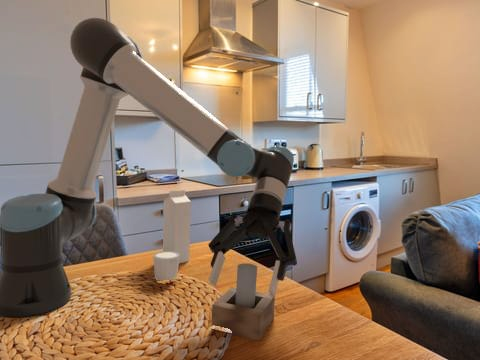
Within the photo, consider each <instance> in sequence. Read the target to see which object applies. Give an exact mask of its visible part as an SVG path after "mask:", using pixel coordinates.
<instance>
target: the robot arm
mask: <svg viewBox="0 0 480 360" xmlns="http://www.w3.org/2000/svg"><path fill="white" fill-rule="evenodd" d="M69 46H70V49H71V52H72V55H73V57H74V59H75V61H76V62H77V63H79V65H80V66H81V67H82V70H81V73H80V80H81V82H82V84H83V86H84V88H83V90H82V94H81V97H80V100H79V105H78V107H77V111H76V114H75V118H74V121H73V124H72V128H71V131H70V134H69V138H68V141H67V145H66V147H65V151H64V154H63V157H62V160H61V165H60V167H59V169H58V170H59V171H58V175H57V177H56V178H55V179H54V180H51V181H49V182H48V183H47V187H46V189H45V193H30V194H27V195H18V196H15V197H13V198H9V199H7V200H6V201H5V202H4V203H3V204H1V207H0V260H1V262H0V263H1V264H0V265H1V266H0V267H1V270H0V271H1V272H0V316H2V317H7V318H21V317H22V318H24V317H33V316H38V315H41V314H45V313H48V312H51V311H55V310H56V309H59V308H61V307H62V306H65V304H67V303H68V302H69V301H70V300H71V298H72V286H71V283H70V282H69V278H68V276H67V273H66V270H65V268H64V265H63V244H65V243H66V242H69V241H71V240H73V239H75V238H77V237H80V236H81V235H83V234H84V233H86V232H87V231H88V230H89V229H90V228H91V227H92V226H93V224H94V223H95V220H96V217H97V206H96V204H95V203H96V198H97V193H96V191H95V189H94V184H95V181H96V177H97V174H98V171H99V167H100V165H101V162H102V159H103V154H104V151H105V150H106V149H105V148H106V145H107V143H108V139H109V136H110V132H111V130H112V126H113V123H114V120H115V117H116V114H117V111H118V108H119V104H120V101H121V100H122V99H123V98H125V97H127V96H130V97H131V98H133V99H135V100H136V101H137V102H138V103H139V104H141V106H143V107H144V108H146V110H149V112H150V113H152V114H153V115H155V117H157V118H158V119H159V120H161V121H162V123H164V124H166V125H167V126H168V127H169V128H171V129H172V130H173V131H174V132H176V133H177V134H178V135H179V136H180V137H182V138H183V139H185V141H187V142H188V143H190V144H191V145H192V146H193V147H195V149H197V150H198V151H200V152H201V153H202V154H203V155H205V157H207V158H209V160H210V161H211V162H213V163H214V164H216V165H217V166H218V168H220V171H222V173H224V174H225V175H226V176H229V177H233V178H239V177H243V176H247V177H250V178H252V179H254V180H255V179H256V182H255V185H254V188H253V190H252V195H251V197H250V200H249V203H248V206H247V209H246V213H245V215H244V216H239V215H237V214H236V213H231V215H230V218H229V220H228V222H226V224H225V225H224V226H223V227H222V228H221V229H220V231H219V232H218V233H216V235H215V236H214V237H213V238H212V240H211V241H210V242H209V243H208V247H209V250H210V251H211V253H213V256H212V259H211V260H210V267H211V272H210V274H209V277H208V281H209V283H210V284H211V286H212V287H217V284H218V282H219V281H218V280H219V277H220V274H221V271H222V269H223V266H224V263H225V261H226V257H225V254H226V253H228V252H229V251H230V250H232V249H233V248H234V247H236V246H237V245H238V244H239V243H241V241H244V240H245V239H248V238H249V237H251V238H260V239H263V240H264V239H265V238H267V239H268V240H269V242H270V244H271V246H272V248H273V249H274V252H275V254H276V256H277V257H278V260H275V263H274V266H273V272H272V274H271V280H270V285H269V288H268V293H269V294H270V296H271V297H274V298H275V299H276V297H275V296H276V293H277V289H278V286H279V281H280V282H283V281H284V280H285V276H286V273H287V269H288V267H289V266H297V265H298V259H297V256H296V251H295V247H294V244H293V243H294V242H293V238H292V236H291V232H292V230H293V229H292V223H291V219H289V218H287V219H285V220H284V221H281V220H280V217H281V213H282V210H283V205H284V201H285V198H286V194H287V189H288V186H289V184H290V179H291V175H292V172H293V167H294V161H295V160H294V158H295V157H294V155H293V153H292V151H291V150H290V149H288V148H287V147H286V146H282V145H279V146H277V145H273V146H271V147H269V148H268V149H267V150H266V149H262V148H259V147H257V146H255V145H252V144H249V143H248V142H246V140H245V141H244V140H243V139H242V138H241V137H239V136H238V135H237V134H235V132H233V131H232V130H230V129H229V128H228V126H226V125H225V124H224V123H223V122H221V121H220V120H219V119H217V118H216V117H215V116H213V115H212V114H211V113H210V112H209V111H207V110H206V109H205V108H203V106H201V105H200V104H199V103H197V102H196V101H195V100H194V99H192V98H191V97H190V96H188V94H186V93H185V92H184V91H183V90H181V88H179V87H178V86H176V85H175V84H174V83H172V82H171V81H170V80H169V79H167V78H166V77H165V76H164V75H163V74H162V73H160V72H159V71H157V70H156V68H154V67H153V66H152V65H150V64H149V63H148V62H146V61H145V60H144V59H143V55H142V52H141V50H140V48H139V47H138V45H137V44H136V42H134V40H133V39H132V38H130V37H129V36H127V35H126V34H125V33H124V32H123V31H122V30H120V28H119V27H117V26H116V25H115V24H114V23H113V22H111V21H110V20H106V19H104V18H100V17H90V18H86V19H84V20H82V21H80V22H78V24H76V25H75V27H74V28H73V30H72V33H71V35H70V45H69ZM240 224H241V225H240ZM237 227H239V228H238V229H237ZM279 228H280V229H281V232H283V233H284V238H285V242H286V246H287V251H288V255H285V252H284V251H283V248H282V247H281V245H280V243H279V241H278V238H277V237H276V235H275V233H274V232H276V231H277V230H279ZM236 229H237V230H236Z"/></svg>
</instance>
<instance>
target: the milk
mask: <svg viewBox="0 0 480 360" xmlns="http://www.w3.org/2000/svg"><path fill="white" fill-rule="evenodd" d="M191 207H192V201H191V200H190V199H189V198H188V196H187V195H186V190H185V189H181V190H180V189H179V190H171V191H169V193H168V197H166V198H165V199H164V200H163V210H162V211H163V213H162V215H163V217H162V219H163V221H162V222H163V223H162V252H164V251H172V252H176V253H179V255H180V256H179V264H183V263H186V262H190V255H191V252H190V251H191V250H190V248H191V214H192V213H191V212H192V211H191V210H192V208H191Z"/></svg>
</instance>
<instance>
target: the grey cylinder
mask: <svg viewBox="0 0 480 360" xmlns="http://www.w3.org/2000/svg"><path fill="white" fill-rule="evenodd" d="M236 274H237V275H236V284H235V285H236V287H235V288H236V300H235V305H238V306H242V307H247V308H252V309H254V308H255V294H256V292H257V281H258V280H257V279H258V277H257V276H258V265H255V264H253V263H249V262H247V263H245V262H244V263H239V264H238V265H237V273H236Z"/></svg>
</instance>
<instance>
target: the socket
mask: <svg viewBox="0 0 480 360" xmlns="http://www.w3.org/2000/svg"><path fill="white" fill-rule="evenodd" d="M275 299H276V297H275V298H274V297H271V296H270V293H269V294H268V293H264V292H259V291H256V294H255V308H254V309H252V308H247V307H242V306H238V305H235V300H236V287H230V288H229V289H228V290H226V291H225V293H223V294H222V295H221V296H220V297H219V298H218V299H217V300H216V301H215V302H214V303H213V304H212V305H211V326H212V325H215V326H220V327H224V328H228V329H230V330H231V331H232V334H231V335H233V336H237V337H242V338H245V339H246V338H247V339H250V340H255V341H257V342H259V341H261V339H262V337H263V336H264V334H265V333H266V331H267V330H268V328H269V326H270V325H271V323H272V322H273V320H274V319H275V318H274V317H275Z"/></svg>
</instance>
